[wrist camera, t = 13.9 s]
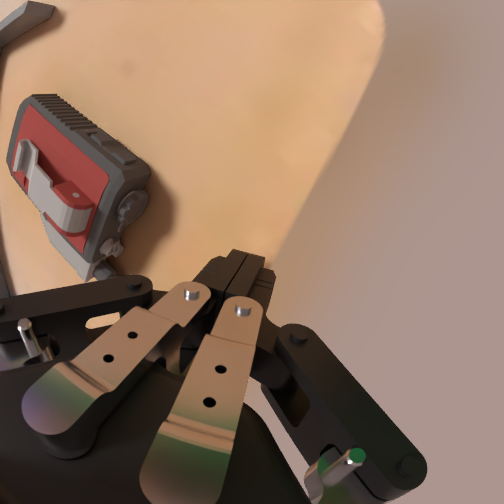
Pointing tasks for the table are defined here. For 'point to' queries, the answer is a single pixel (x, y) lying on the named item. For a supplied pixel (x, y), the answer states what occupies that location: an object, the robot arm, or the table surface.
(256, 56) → the table surface
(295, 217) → the table surface
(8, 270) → the table surface
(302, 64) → the table surface
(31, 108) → the walkie-talkie
